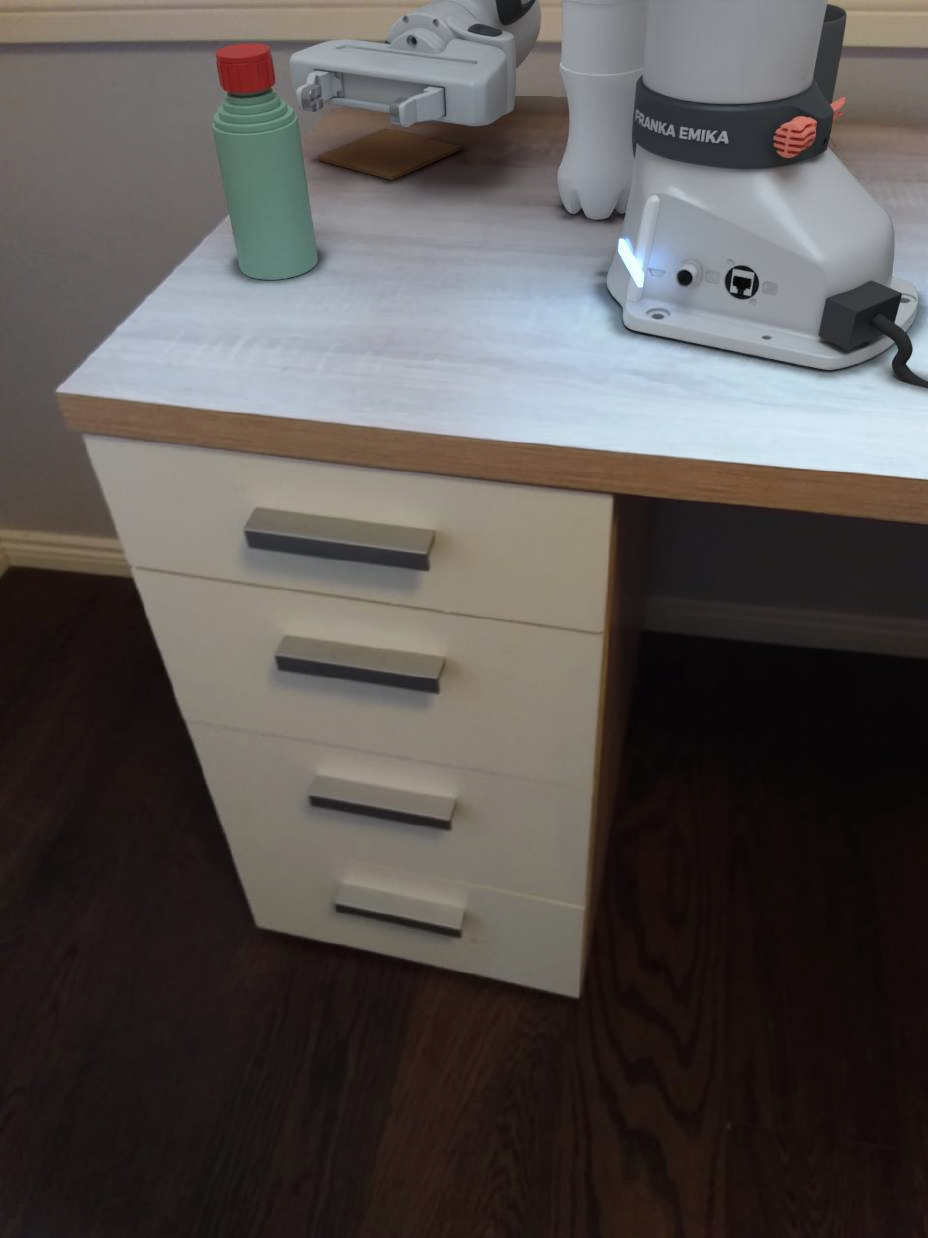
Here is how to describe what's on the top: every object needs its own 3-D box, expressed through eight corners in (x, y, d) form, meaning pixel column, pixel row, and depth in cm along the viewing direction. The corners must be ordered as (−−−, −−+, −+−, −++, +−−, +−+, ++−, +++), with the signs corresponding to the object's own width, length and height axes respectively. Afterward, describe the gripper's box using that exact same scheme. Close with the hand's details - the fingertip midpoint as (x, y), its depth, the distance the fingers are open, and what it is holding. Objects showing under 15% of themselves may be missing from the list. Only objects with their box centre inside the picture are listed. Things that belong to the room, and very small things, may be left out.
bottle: (334, 258, 83) (306, 53, 73) (276, 286, 80) (239, 75, 70) (281, 240, 87) (248, 41, 76) (223, 267, 83) (180, 62, 73)
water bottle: (638, 192, 91) (663, -156, 74) (640, 224, 86) (668, -143, 69) (557, 193, 92) (564, -152, 75) (555, 224, 87) (562, -139, 70)
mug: (839, 151, 97) (867, 7, 88) (790, 180, 92) (815, 30, 84) (715, 125, 104) (731, -11, 95) (664, 150, 99) (676, 9, 91)
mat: (460, 149, 101) (460, 145, 101) (392, 180, 96) (392, 175, 96) (387, 132, 106) (387, 128, 106) (319, 160, 101) (318, 156, 101)
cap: (286, 82, 74) (281, 47, 73) (245, 96, 72) (239, 60, 70) (251, 74, 76) (245, 40, 75) (210, 87, 74) (203, 52, 72)
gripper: (335, 12, 95) (244, 53, 87) (530, 35, 88) (451, 81, 79) (343, 85, 100) (257, 130, 91) (529, 113, 92) (454, 165, 84)
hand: (349, 108), depth 85 cm, fingers open, 8 cm apart
